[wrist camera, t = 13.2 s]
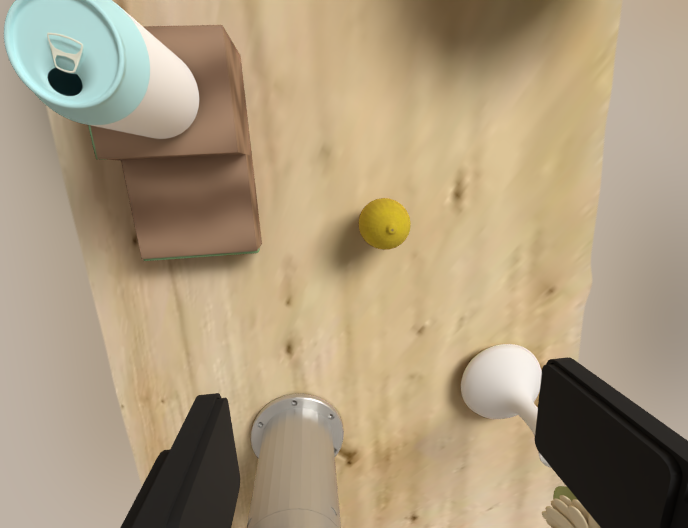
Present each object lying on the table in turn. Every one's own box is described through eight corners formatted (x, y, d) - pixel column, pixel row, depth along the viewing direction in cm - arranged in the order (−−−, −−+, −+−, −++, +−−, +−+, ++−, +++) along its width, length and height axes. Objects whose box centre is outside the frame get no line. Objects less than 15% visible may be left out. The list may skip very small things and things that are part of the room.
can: (216, 121, 31) (160, 92, 19) (141, 151, 31) (41, 140, 19) (176, 35, 29) (88, -55, 17) (97, 67, 29) (-44, -1, 17)
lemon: (347, 231, 43) (356, 245, 35) (365, 188, 41) (378, 192, 34) (388, 248, 44) (405, 264, 36) (407, 206, 42) (428, 214, 35)
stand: (262, 245, 42) (251, 262, 34) (155, 253, 41) (119, 272, 33) (240, 55, 37) (222, 25, 29) (116, 58, 36) (64, 28, 28)
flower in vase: (474, 329, 48) (643, 491, 24) (546, 348, 50) (769, 516, 26) (439, 410, 51) (558, 627, 26) (508, 425, 52) (678, 641, 28)
